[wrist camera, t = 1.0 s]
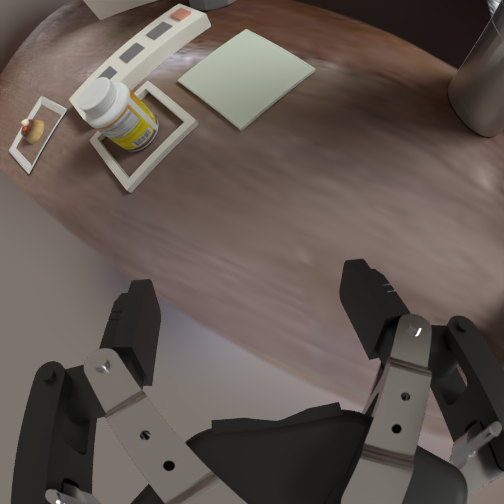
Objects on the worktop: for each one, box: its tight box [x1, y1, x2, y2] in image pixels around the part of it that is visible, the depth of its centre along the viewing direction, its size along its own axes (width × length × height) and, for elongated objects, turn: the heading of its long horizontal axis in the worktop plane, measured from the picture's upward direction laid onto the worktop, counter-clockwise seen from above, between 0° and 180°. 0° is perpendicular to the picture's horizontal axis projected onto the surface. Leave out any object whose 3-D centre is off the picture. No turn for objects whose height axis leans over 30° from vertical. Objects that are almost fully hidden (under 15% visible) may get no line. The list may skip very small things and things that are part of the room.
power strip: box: [69, 4, 211, 122], centre depth 31 cm, size 22×10×3 cm, turn 133°
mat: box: [178, 29, 315, 131], centre depth 30 cm, size 12×12×1 cm
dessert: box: [9, 96, 67, 174], centre depth 34 cm, size 12×12×5 cm
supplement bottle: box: [79, 77, 158, 152], centre depth 27 cm, size 6×6×10 cm
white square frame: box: [89, 81, 199, 193], centre depth 31 cm, size 11×11×1 cm
